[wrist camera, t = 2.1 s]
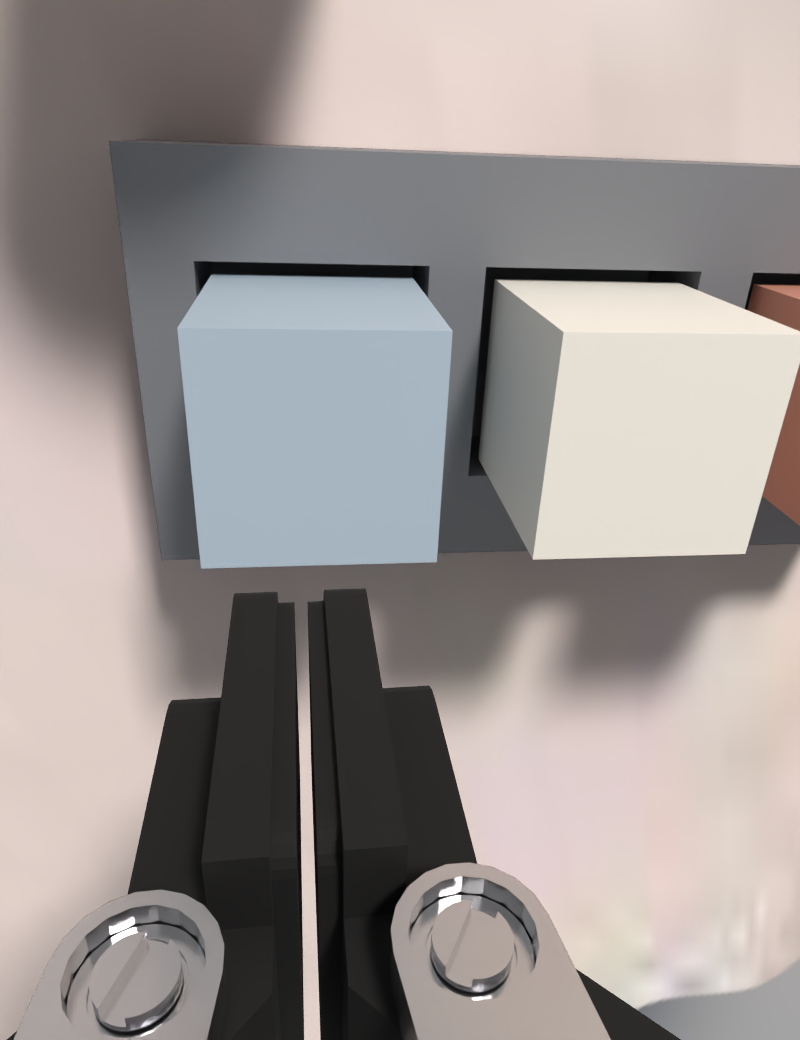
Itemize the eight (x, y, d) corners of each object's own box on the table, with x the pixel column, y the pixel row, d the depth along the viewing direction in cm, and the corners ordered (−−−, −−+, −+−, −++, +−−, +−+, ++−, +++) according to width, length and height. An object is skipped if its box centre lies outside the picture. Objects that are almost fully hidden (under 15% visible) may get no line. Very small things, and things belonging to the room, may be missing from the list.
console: (939, 171, 25) (1043, 177, 22) (832, 494, 31) (901, 541, 27) (139, 139, 22) (108, 141, 19) (179, 505, 28) (161, 559, 24)
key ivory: (677, 282, 22) (807, 334, 17) (643, 456, 25) (745, 554, 19) (494, 279, 22) (563, 332, 16) (478, 458, 24) (532, 559, 18)
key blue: (412, 277, 21) (452, 330, 16) (404, 459, 24) (436, 561, 18) (212, 273, 21) (177, 328, 15) (225, 461, 23) (200, 568, 18)
